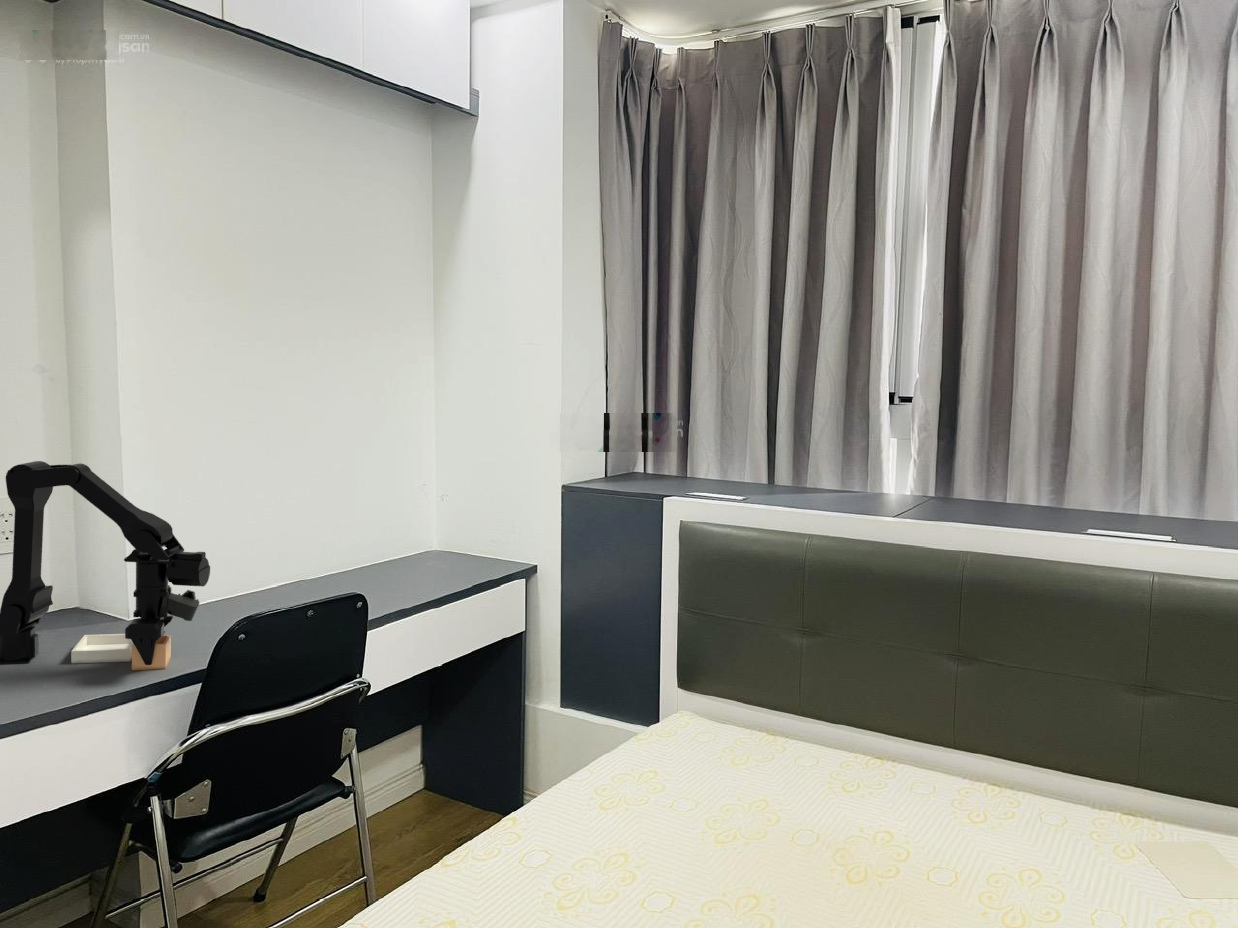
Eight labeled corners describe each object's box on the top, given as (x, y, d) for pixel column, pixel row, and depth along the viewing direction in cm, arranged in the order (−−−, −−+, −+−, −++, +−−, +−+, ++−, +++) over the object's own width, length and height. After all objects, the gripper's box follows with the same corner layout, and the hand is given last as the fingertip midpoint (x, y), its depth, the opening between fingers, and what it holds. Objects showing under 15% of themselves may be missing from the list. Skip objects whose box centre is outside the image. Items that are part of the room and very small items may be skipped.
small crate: (131, 670, 177) (131, 645, 176) (137, 659, 182) (138, 636, 182) (165, 668, 179) (165, 644, 178) (170, 658, 184) (170, 635, 184)
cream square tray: (71, 663, 178) (71, 651, 178) (84, 646, 188) (84, 634, 188) (130, 661, 181) (130, 649, 181) (140, 644, 191) (140, 633, 191)
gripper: (189, 595, 172) (188, 673, 174) (202, 571, 190) (201, 643, 192) (124, 596, 169) (124, 676, 171) (143, 572, 186) (143, 644, 188)
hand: (151, 659), depth 180 cm, fingers closed on small crate, 6 cm apart
